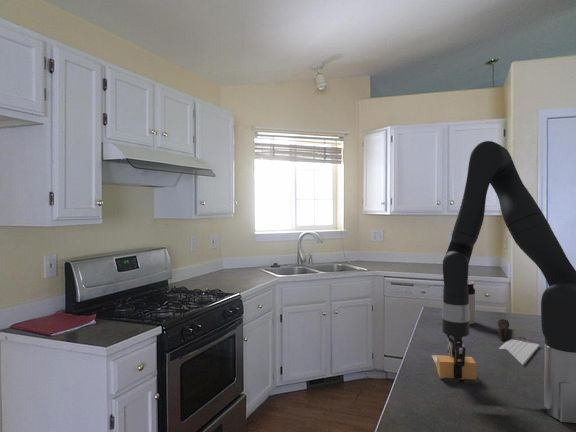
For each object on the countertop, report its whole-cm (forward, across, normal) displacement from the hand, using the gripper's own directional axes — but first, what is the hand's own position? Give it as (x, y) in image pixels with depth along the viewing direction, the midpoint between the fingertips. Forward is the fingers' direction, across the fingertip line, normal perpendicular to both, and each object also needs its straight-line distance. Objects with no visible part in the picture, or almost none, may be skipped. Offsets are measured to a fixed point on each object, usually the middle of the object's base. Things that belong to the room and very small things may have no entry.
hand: (455, 373), depth 124 cm
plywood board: (+2, +8, -1) cm, 9 cm away
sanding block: (+1, 0, 0) cm, 1 cm away
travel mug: (+2, +64, -17) cm, 66 cm away
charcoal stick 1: (+1, -2, +2) cm, 3 cm away
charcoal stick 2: (+1, -2, -4) cm, 5 cm away
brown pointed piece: (+3, +49, -28) cm, 57 cm away
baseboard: (+3, +26, -23) cm, 35 cm away
